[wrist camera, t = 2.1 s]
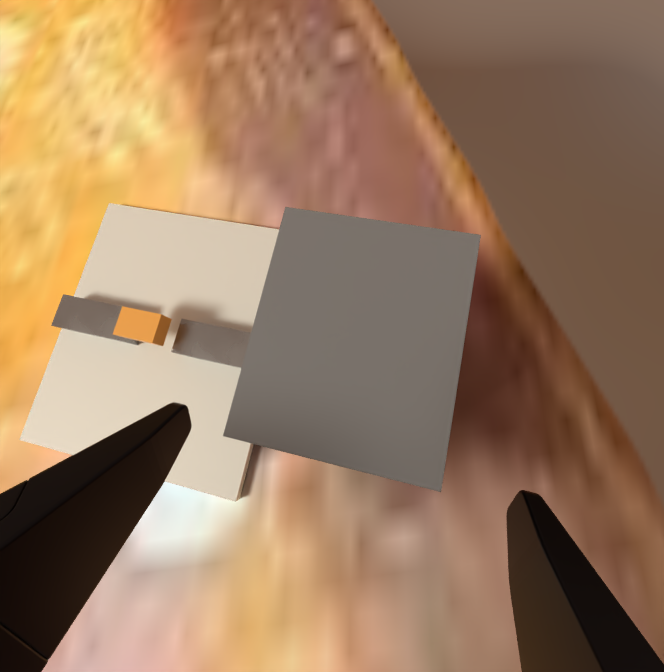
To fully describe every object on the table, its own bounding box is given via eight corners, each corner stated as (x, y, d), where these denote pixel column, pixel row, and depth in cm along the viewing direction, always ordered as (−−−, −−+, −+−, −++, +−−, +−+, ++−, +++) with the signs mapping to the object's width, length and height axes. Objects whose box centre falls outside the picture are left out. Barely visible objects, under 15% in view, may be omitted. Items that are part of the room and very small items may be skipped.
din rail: (260, 372, 20) (253, 370, 19) (68, 330, 22) (51, 325, 21) (268, 339, 20) (262, 335, 19) (79, 300, 22) (63, 294, 21)
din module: (397, 442, 19) (441, 492, 7) (310, 421, 20) (222, 436, 8) (417, 333, 20) (481, 227, 8) (334, 318, 21) (287, 200, 9)
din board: (239, 498, 19) (235, 501, 19) (29, 439, 21) (19, 439, 21) (306, 238, 22) (304, 233, 22) (115, 208, 24) (109, 203, 24)
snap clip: (163, 346, 19) (152, 342, 18) (125, 337, 20) (112, 334, 19) (171, 319, 20) (161, 314, 19) (134, 311, 20) (122, 306, 19)
